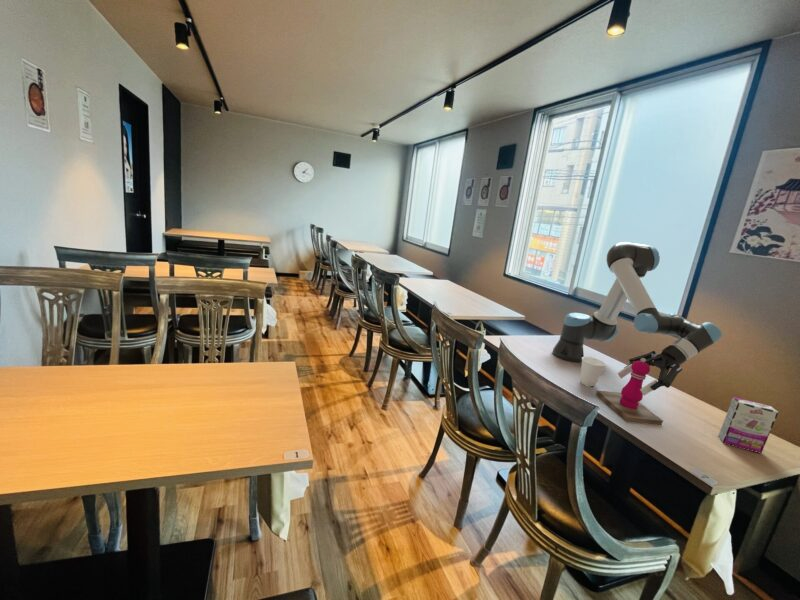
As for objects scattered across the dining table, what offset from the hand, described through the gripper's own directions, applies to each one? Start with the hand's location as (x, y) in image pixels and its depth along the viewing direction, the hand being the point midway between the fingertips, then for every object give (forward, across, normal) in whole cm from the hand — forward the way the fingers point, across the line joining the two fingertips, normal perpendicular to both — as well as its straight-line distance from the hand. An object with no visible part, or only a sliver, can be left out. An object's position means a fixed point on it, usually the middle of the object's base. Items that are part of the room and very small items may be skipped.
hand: (630, 383), depth 143 cm
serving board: (+6, 0, -9) cm, 11 cm away
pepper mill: (+5, 0, -8) cm, 9 cm away
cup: (+10, +20, -6) cm, 23 cm away
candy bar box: (-15, -18, -30) cm, 38 cm away
